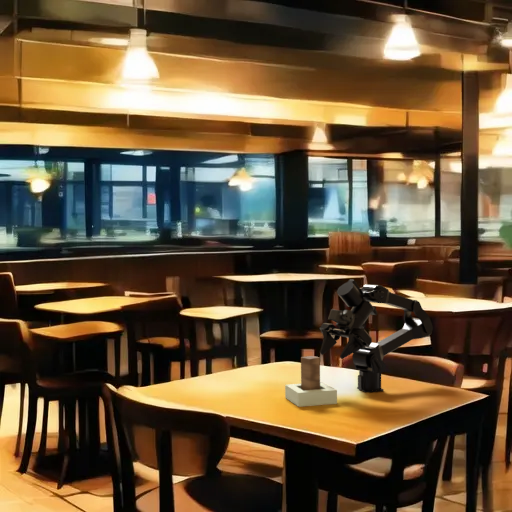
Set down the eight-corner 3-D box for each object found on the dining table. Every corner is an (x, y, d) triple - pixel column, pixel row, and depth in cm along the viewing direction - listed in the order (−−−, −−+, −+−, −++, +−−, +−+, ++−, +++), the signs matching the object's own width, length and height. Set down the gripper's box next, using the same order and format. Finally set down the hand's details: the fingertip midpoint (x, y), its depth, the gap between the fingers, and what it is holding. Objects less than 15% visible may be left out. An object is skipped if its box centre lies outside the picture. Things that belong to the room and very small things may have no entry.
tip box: (322, 394, 228) (322, 381, 228) (337, 403, 217) (336, 390, 216) (285, 397, 225) (285, 384, 225) (298, 406, 213) (298, 393, 213)
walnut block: (311, 396, 223) (311, 355, 223) (320, 399, 220) (319, 357, 220) (301, 398, 221) (300, 357, 221) (309, 401, 218) (309, 359, 217)
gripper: (323, 297, 235) (296, 335, 229) (364, 302, 220) (336, 342, 214) (342, 320, 240) (316, 358, 234) (383, 326, 224) (357, 366, 218)
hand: (330, 355), depth 225 cm, fingers open, 9 cm apart
